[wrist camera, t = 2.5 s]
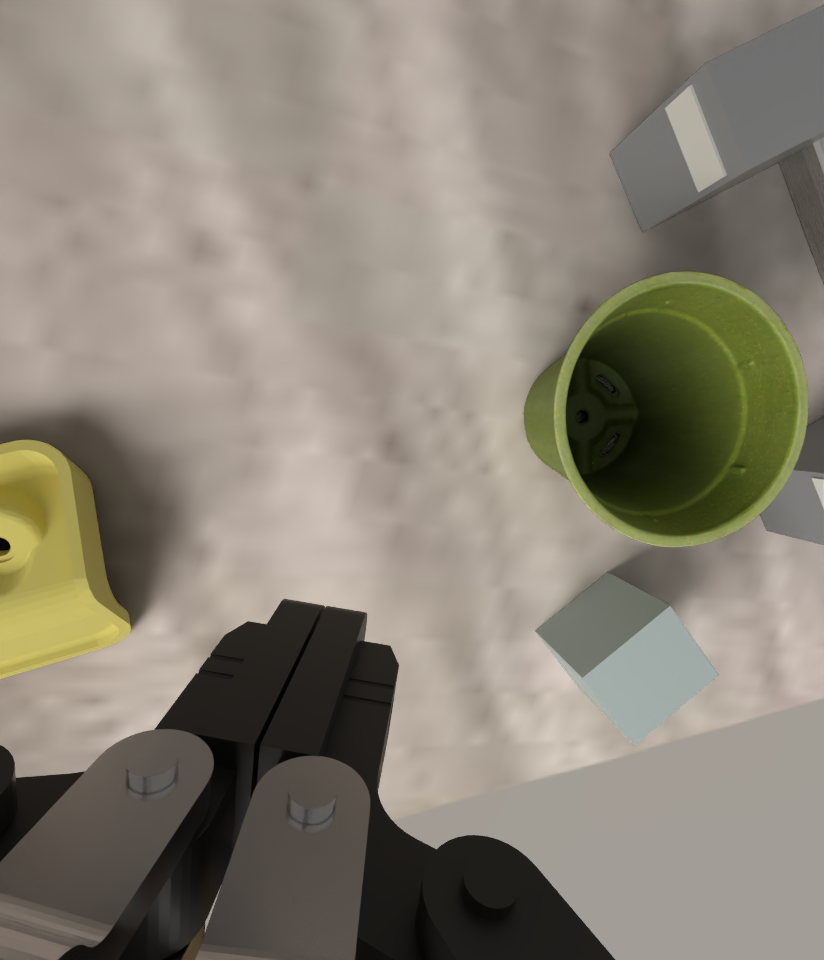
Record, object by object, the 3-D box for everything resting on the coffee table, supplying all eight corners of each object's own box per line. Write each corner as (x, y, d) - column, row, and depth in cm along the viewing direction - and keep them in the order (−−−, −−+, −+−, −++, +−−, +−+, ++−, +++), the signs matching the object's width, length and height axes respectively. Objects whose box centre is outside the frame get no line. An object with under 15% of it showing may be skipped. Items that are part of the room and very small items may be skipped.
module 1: (607, 154, 35) (703, 63, 26) (749, 83, 36) (888, -28, 27) (640, 233, 36) (744, 172, 27) (778, 162, 37) (923, 80, 28)
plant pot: (684, 341, 37) (838, 307, 26) (640, 524, 38) (772, 568, 27) (507, 295, 35) (591, 237, 24) (465, 490, 36) (528, 521, 25)
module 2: (534, 630, 37) (582, 678, 31) (607, 571, 38) (670, 605, 31) (578, 687, 38) (634, 746, 31) (648, 629, 39) (719, 674, 32)
